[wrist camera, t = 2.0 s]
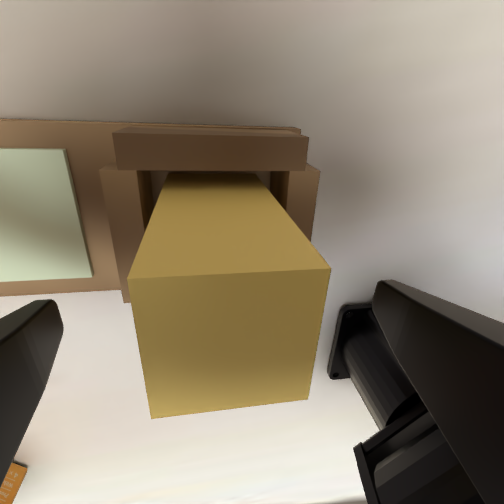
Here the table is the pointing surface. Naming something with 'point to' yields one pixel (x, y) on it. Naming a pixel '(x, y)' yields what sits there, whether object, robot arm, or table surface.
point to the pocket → (199, 159)
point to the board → (65, 204)
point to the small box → (12, 483)
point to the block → (225, 298)
